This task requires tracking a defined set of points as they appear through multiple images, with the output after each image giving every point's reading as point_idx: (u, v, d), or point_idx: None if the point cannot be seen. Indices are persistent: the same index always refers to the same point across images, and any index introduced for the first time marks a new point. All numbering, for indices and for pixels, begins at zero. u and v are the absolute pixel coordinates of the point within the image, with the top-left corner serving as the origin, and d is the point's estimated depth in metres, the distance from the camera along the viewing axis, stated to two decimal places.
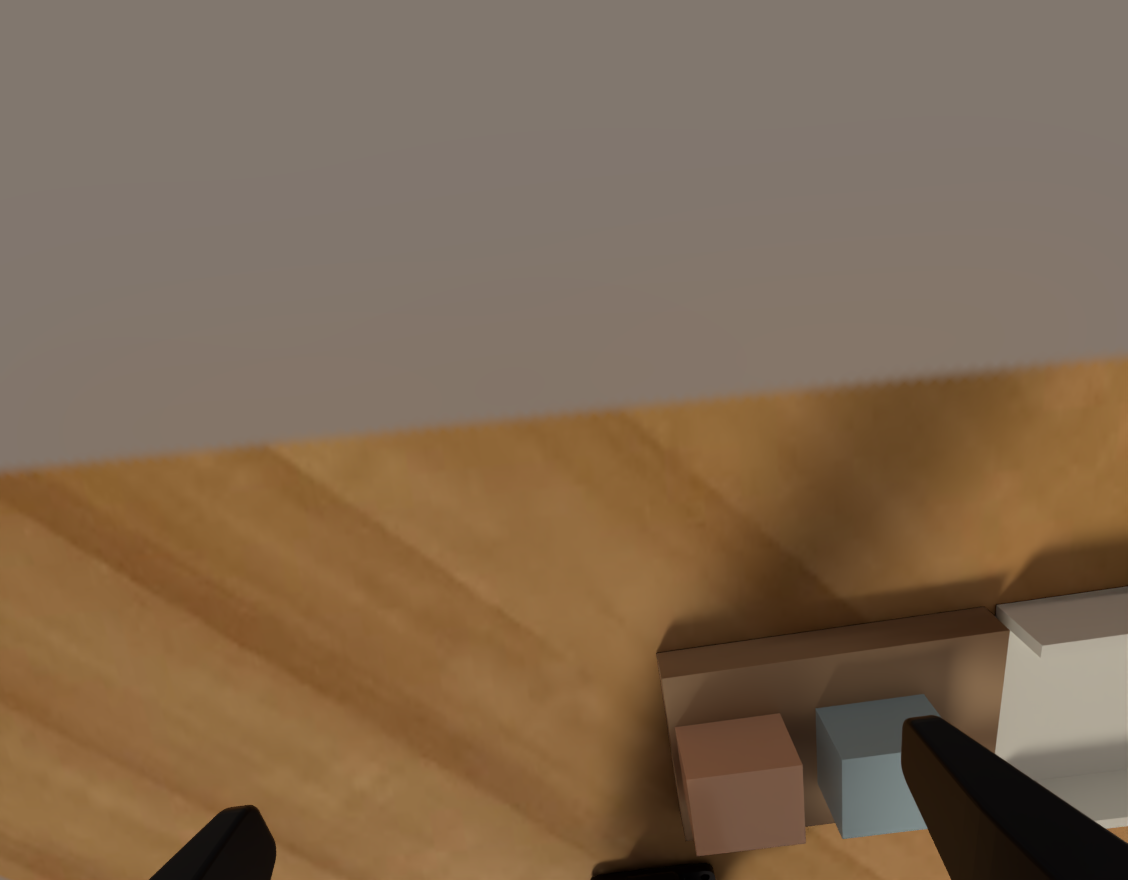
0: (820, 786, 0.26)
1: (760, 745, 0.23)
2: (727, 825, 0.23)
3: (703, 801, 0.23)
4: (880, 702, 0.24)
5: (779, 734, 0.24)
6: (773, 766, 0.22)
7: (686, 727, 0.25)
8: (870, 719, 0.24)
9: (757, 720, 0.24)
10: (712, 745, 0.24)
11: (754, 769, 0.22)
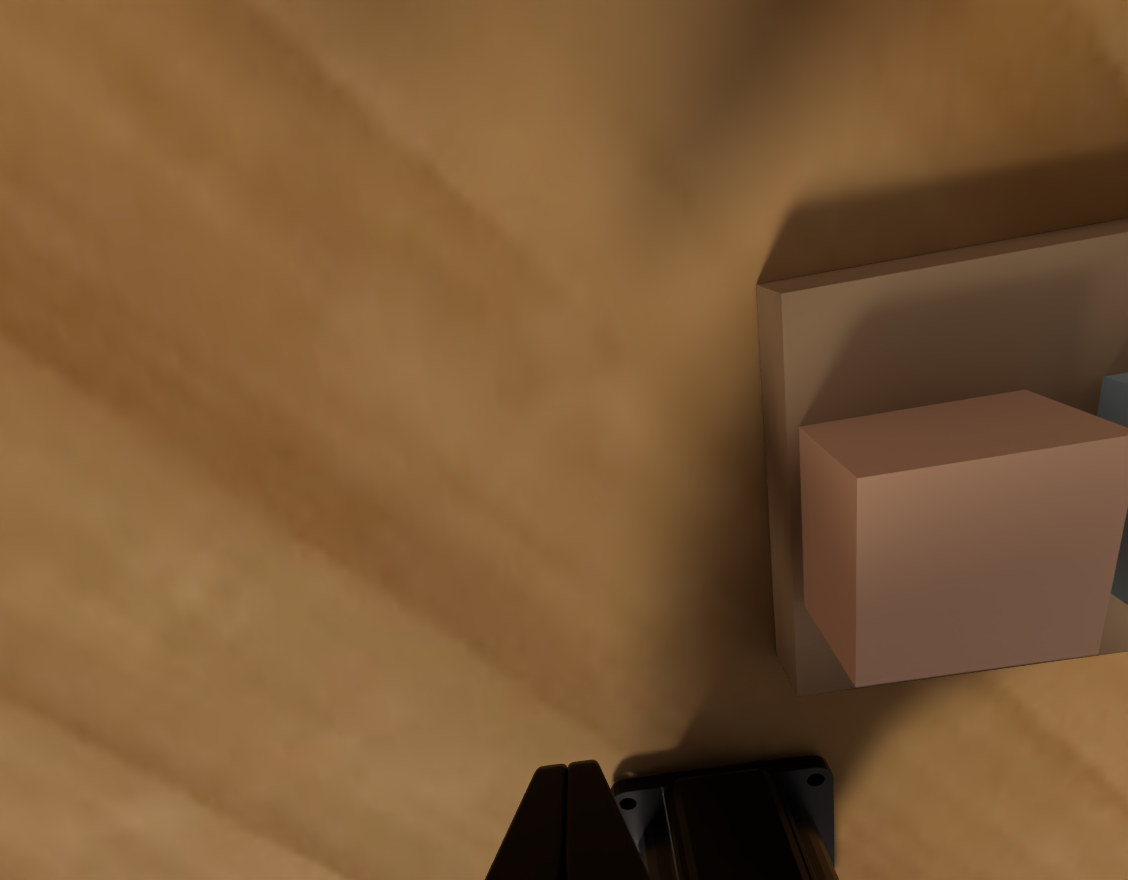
0: None
1: (1013, 423, 0.10)
2: (933, 607, 0.10)
3: (889, 540, 0.10)
4: None
5: (1046, 408, 0.11)
6: (1066, 443, 0.09)
7: (825, 423, 0.12)
8: None
9: (980, 401, 0.11)
10: (895, 435, 0.11)
11: (1021, 449, 0.09)
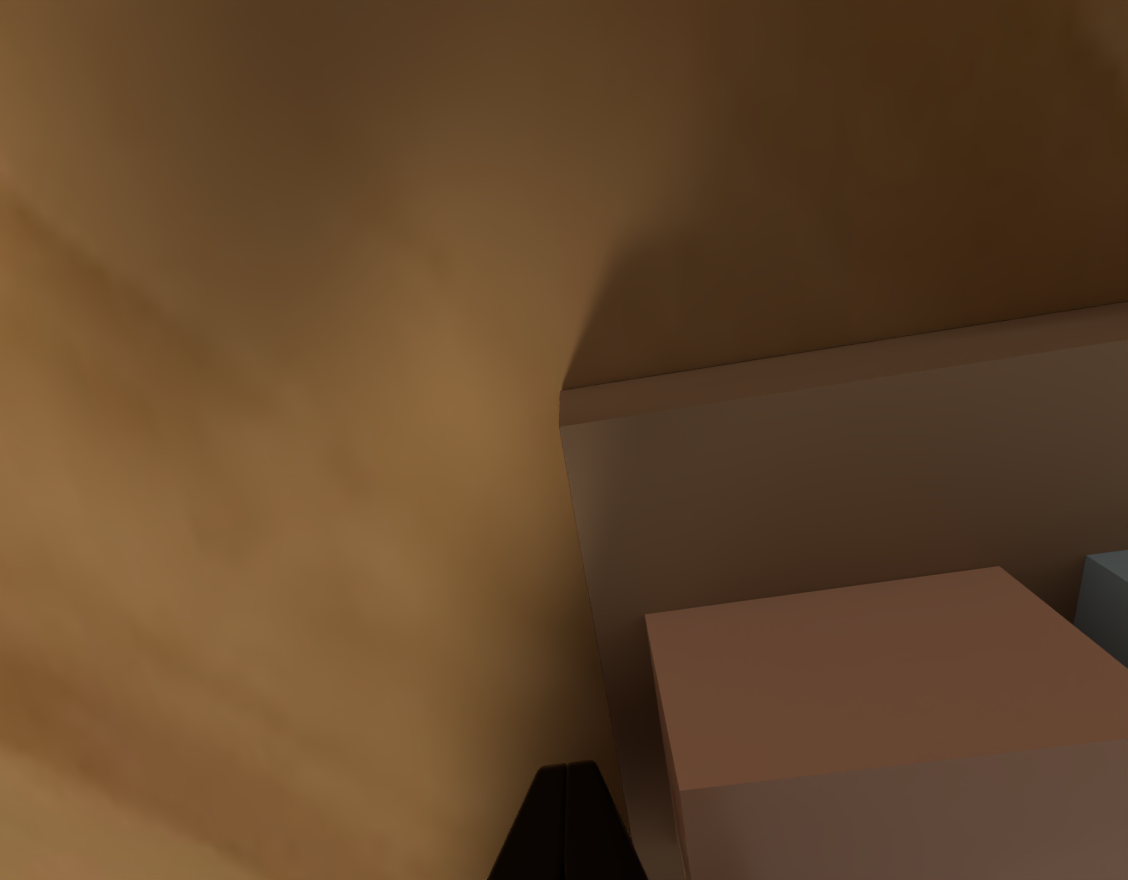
0: None
1: (970, 660, 0.06)
2: None
3: (748, 875, 0.06)
4: None
5: (1029, 623, 0.06)
6: (1061, 736, 0.05)
7: (683, 613, 0.07)
8: None
9: (926, 587, 0.07)
10: (778, 662, 0.06)
11: (980, 748, 0.05)
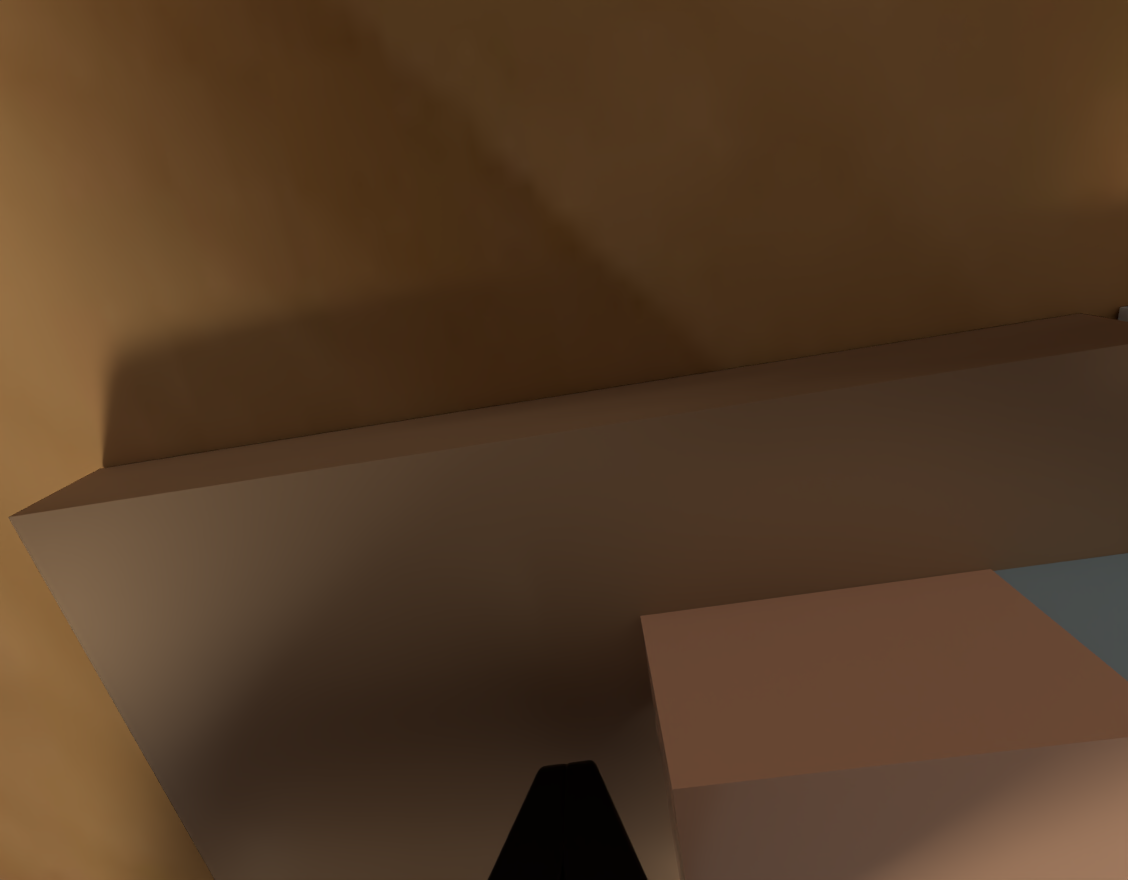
0: None
1: (960, 662, 0.06)
2: None
3: (741, 874, 0.06)
4: None
5: (1019, 625, 0.06)
6: (1047, 737, 0.05)
7: (678, 614, 0.08)
8: None
9: (918, 589, 0.07)
10: (771, 663, 0.07)
11: (966, 747, 0.05)
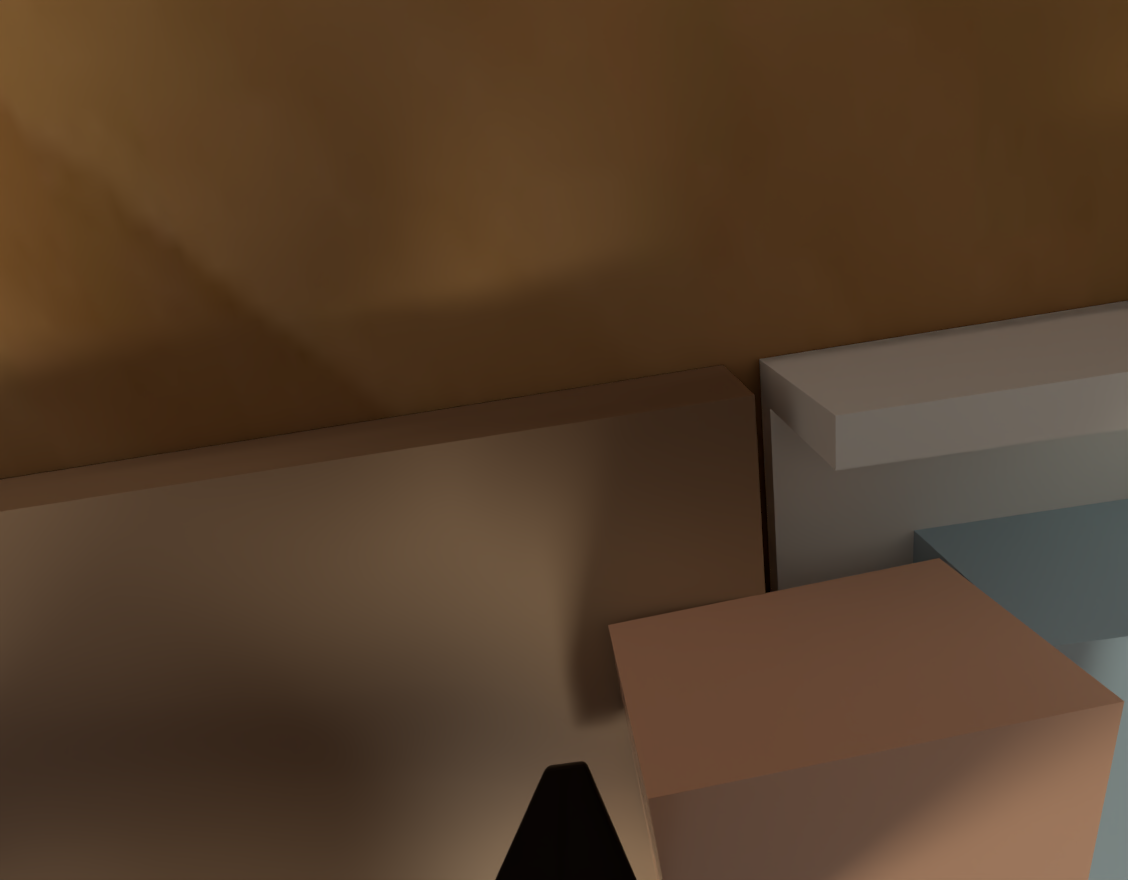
0: None
1: (915, 649, 0.06)
2: None
3: (718, 878, 0.06)
4: (1110, 506, 0.08)
5: (968, 611, 0.07)
6: (1000, 717, 0.05)
7: (645, 621, 0.08)
8: (1098, 542, 0.08)
9: (873, 582, 0.07)
10: (738, 664, 0.07)
11: (926, 734, 0.05)
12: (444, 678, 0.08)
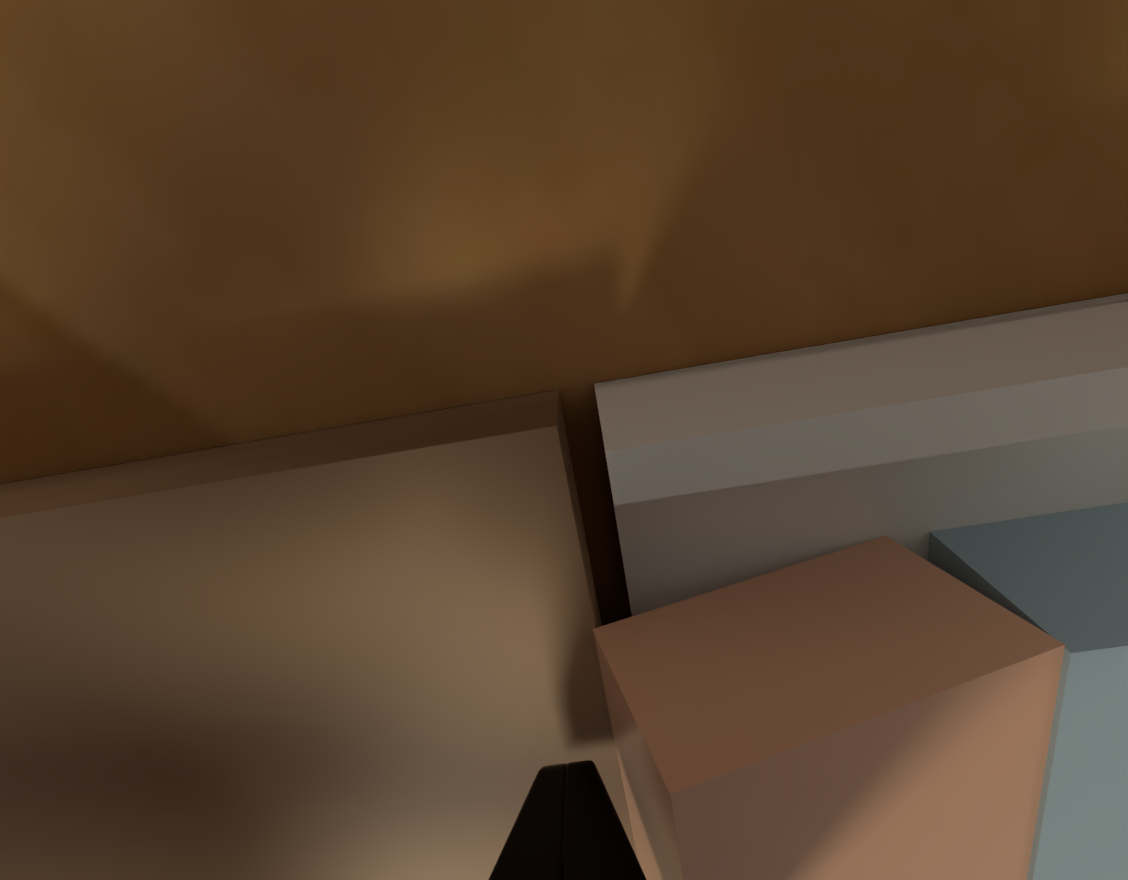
0: None
1: (884, 620, 0.07)
2: None
3: (735, 864, 0.06)
4: None
5: (921, 580, 0.07)
6: (969, 672, 0.06)
7: (629, 621, 0.08)
8: (1119, 544, 0.07)
9: (834, 562, 0.08)
10: (728, 652, 0.07)
11: (911, 695, 0.06)
12: (283, 709, 0.08)
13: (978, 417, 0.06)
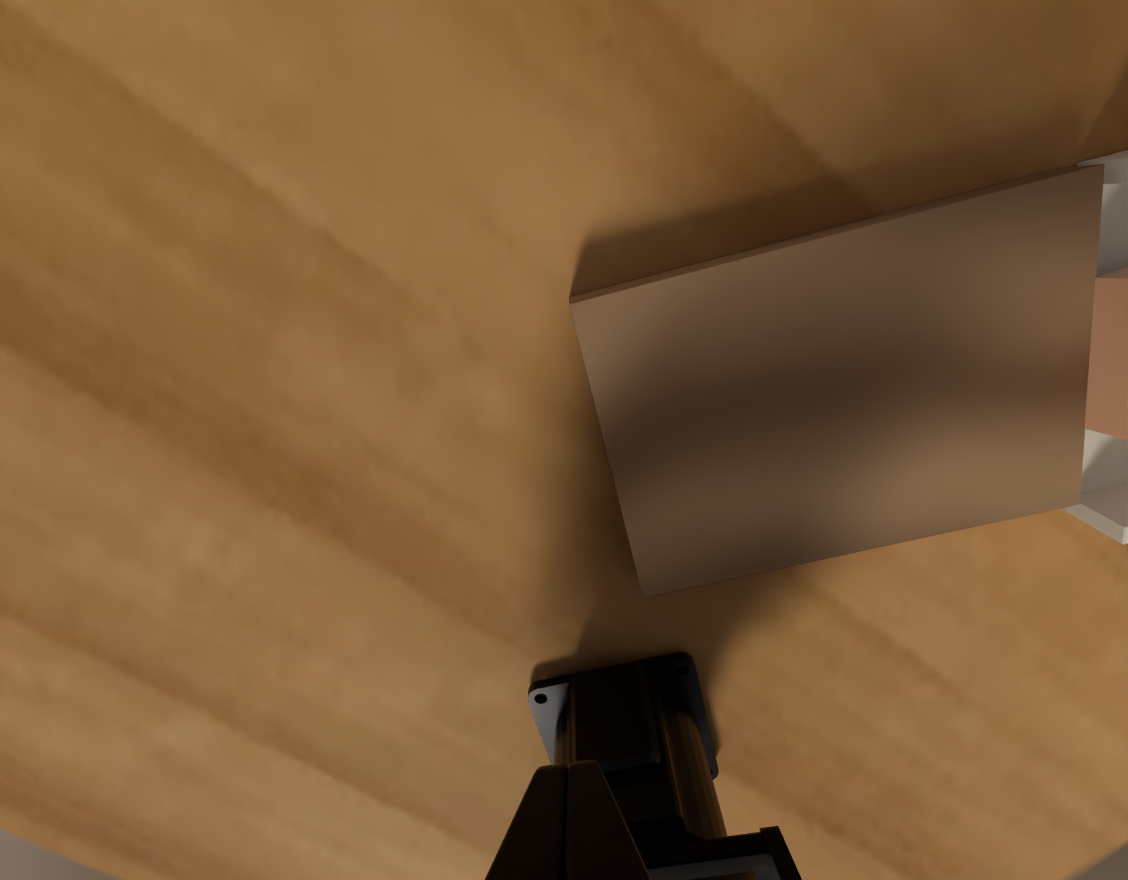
0: None
1: None
2: None
3: None
4: None
5: None
6: None
7: (1112, 273, 0.16)
8: None
9: None
10: None
11: None
12: (925, 341, 0.16)
13: None
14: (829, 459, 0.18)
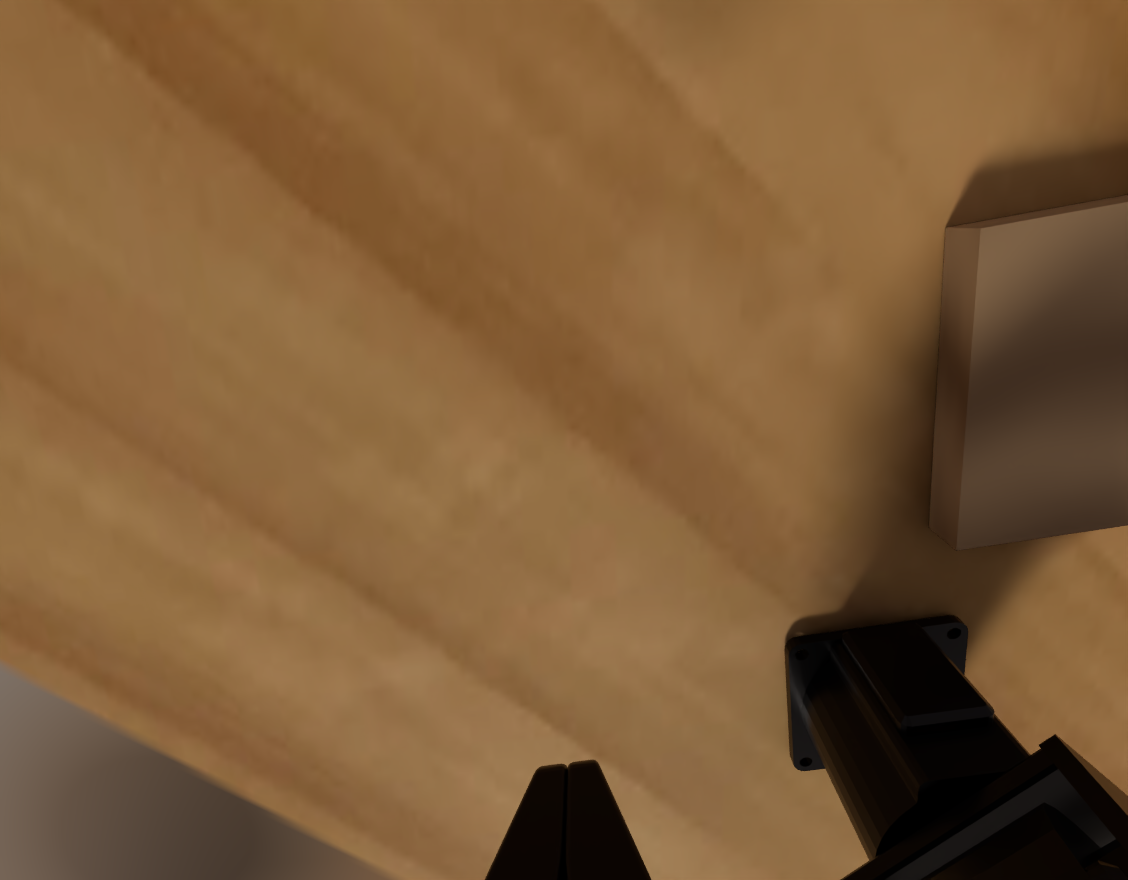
0: None
1: None
2: None
3: None
4: None
5: None
6: None
7: None
8: None
9: None
10: None
11: None
12: None
13: None
14: None
